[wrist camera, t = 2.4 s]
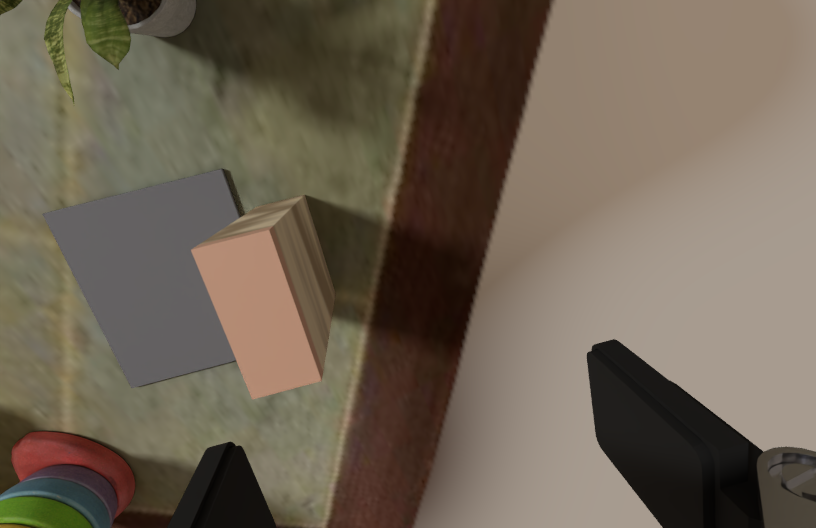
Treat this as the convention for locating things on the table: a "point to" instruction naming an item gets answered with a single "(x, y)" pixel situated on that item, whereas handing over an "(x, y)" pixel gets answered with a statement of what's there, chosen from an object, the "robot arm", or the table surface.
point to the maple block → (271, 294)
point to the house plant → (111, 26)
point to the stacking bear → (65, 483)
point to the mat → (151, 273)
